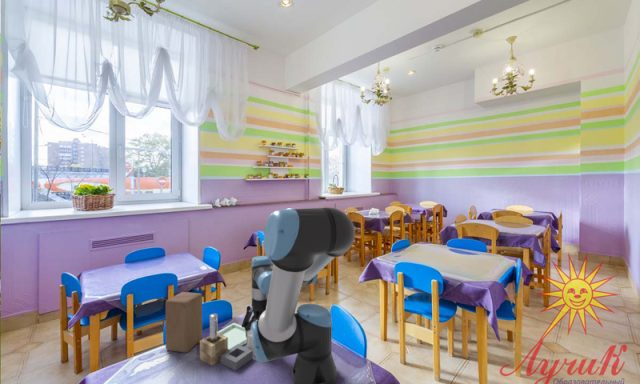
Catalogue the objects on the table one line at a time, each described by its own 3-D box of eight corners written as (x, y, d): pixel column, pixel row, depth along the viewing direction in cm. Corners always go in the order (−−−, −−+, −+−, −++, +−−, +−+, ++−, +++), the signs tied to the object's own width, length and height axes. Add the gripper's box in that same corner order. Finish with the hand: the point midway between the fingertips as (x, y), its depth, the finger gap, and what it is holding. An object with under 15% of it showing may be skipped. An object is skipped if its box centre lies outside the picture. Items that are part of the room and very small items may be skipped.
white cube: (274, 349, 106) (274, 332, 106) (262, 359, 100) (262, 340, 100) (261, 344, 110) (261, 327, 109) (248, 353, 104) (248, 335, 103)
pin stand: (252, 358, 100) (252, 350, 100) (235, 370, 94) (235, 362, 94) (237, 351, 105) (237, 344, 105) (220, 363, 98) (220, 355, 98)
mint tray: (257, 335, 116) (257, 331, 116) (229, 353, 103) (229, 349, 103) (233, 326, 124) (233, 322, 124) (205, 342, 111) (205, 338, 111)
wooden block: (187, 354, 103) (186, 302, 103) (164, 350, 105) (164, 300, 105) (203, 339, 113) (203, 292, 113) (182, 337, 115) (182, 290, 115)
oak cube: (227, 355, 102) (227, 337, 102) (212, 365, 96) (211, 346, 96) (215, 349, 106) (215, 332, 106) (199, 359, 100) (199, 340, 100)
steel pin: (219, 356, 102) (219, 314, 101) (213, 360, 99) (212, 317, 99) (214, 354, 103) (214, 312, 103) (208, 358, 101) (207, 315, 100)
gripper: (292, 299, 101) (292, 355, 102) (246, 287, 114) (246, 337, 114) (279, 307, 95) (280, 367, 95) (232, 293, 108) (232, 346, 108)
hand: (261, 350), depth 105 cm, fingers open, 12 cm apart
